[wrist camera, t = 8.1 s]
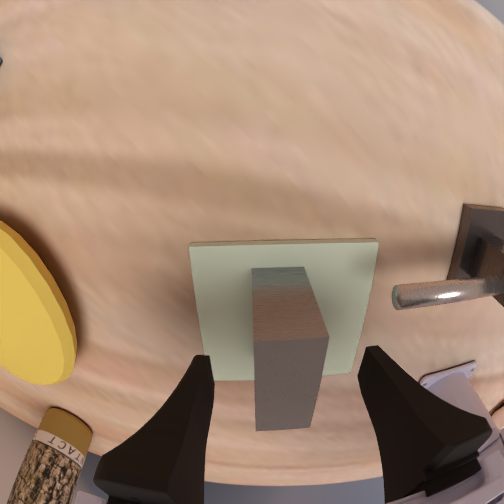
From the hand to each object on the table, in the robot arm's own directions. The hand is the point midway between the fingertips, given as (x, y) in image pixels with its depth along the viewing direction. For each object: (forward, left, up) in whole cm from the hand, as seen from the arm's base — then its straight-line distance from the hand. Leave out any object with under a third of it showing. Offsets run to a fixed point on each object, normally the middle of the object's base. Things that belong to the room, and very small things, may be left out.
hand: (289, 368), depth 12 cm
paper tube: (-20, +25, -6) cm, 32 cm away
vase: (0, +22, -7) cm, 23 cm away
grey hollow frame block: (-1, 0, -7) cm, 7 cm away
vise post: (+3, -12, -6) cm, 13 cm away
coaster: (-2, 0, -6) cm, 6 cm away
